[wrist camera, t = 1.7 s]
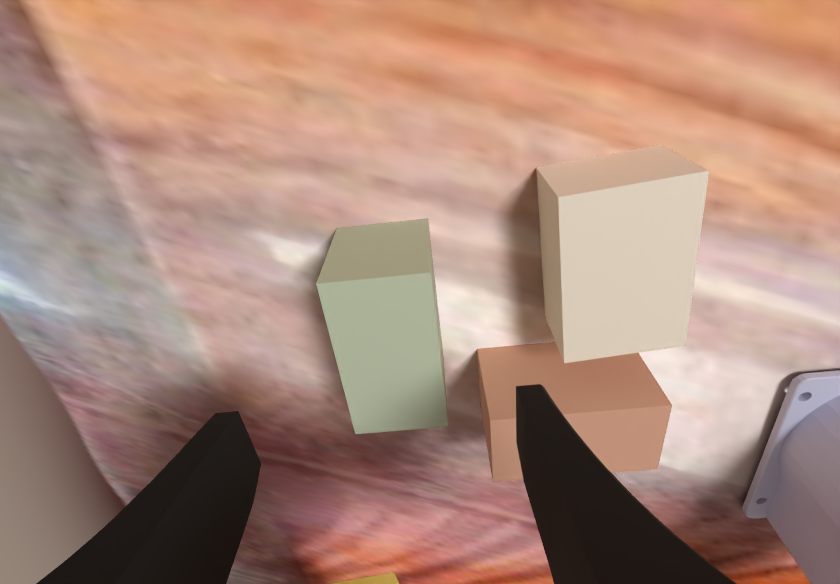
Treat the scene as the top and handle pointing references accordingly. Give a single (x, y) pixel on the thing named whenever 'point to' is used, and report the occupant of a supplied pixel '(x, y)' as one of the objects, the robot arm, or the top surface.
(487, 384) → the terracotta brick
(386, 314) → the green brick
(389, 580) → the toy
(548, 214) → the cream brick
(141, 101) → the top surface
